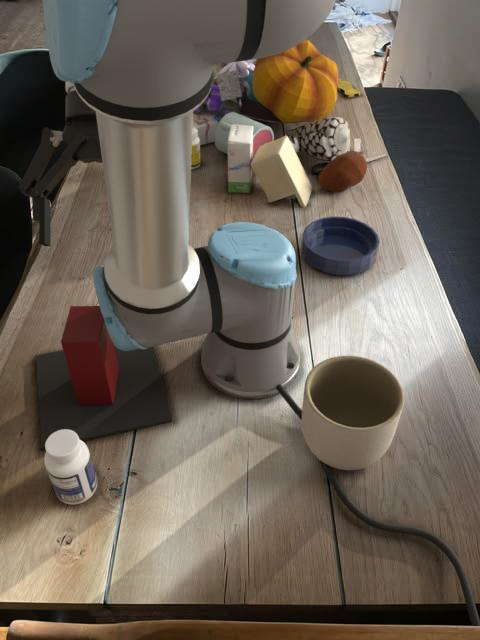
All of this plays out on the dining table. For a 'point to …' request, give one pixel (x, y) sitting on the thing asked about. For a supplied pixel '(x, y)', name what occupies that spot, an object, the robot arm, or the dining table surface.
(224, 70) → the water lily
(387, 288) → the dining table surface
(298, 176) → the cream wooden brick
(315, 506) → the dining table surface
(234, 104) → the toy race car
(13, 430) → the dining table surface
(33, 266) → the dining table surface
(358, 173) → the potato
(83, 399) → the case
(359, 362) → the planter
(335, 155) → the seashell
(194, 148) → the supplement bottle
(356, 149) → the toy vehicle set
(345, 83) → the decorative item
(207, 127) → the ink box
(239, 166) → the ink box
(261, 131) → the mug
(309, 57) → the decorative pumpkin
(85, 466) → the pill bottle
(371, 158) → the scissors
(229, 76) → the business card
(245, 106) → the decorative object
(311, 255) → the bowl
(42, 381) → the mat
